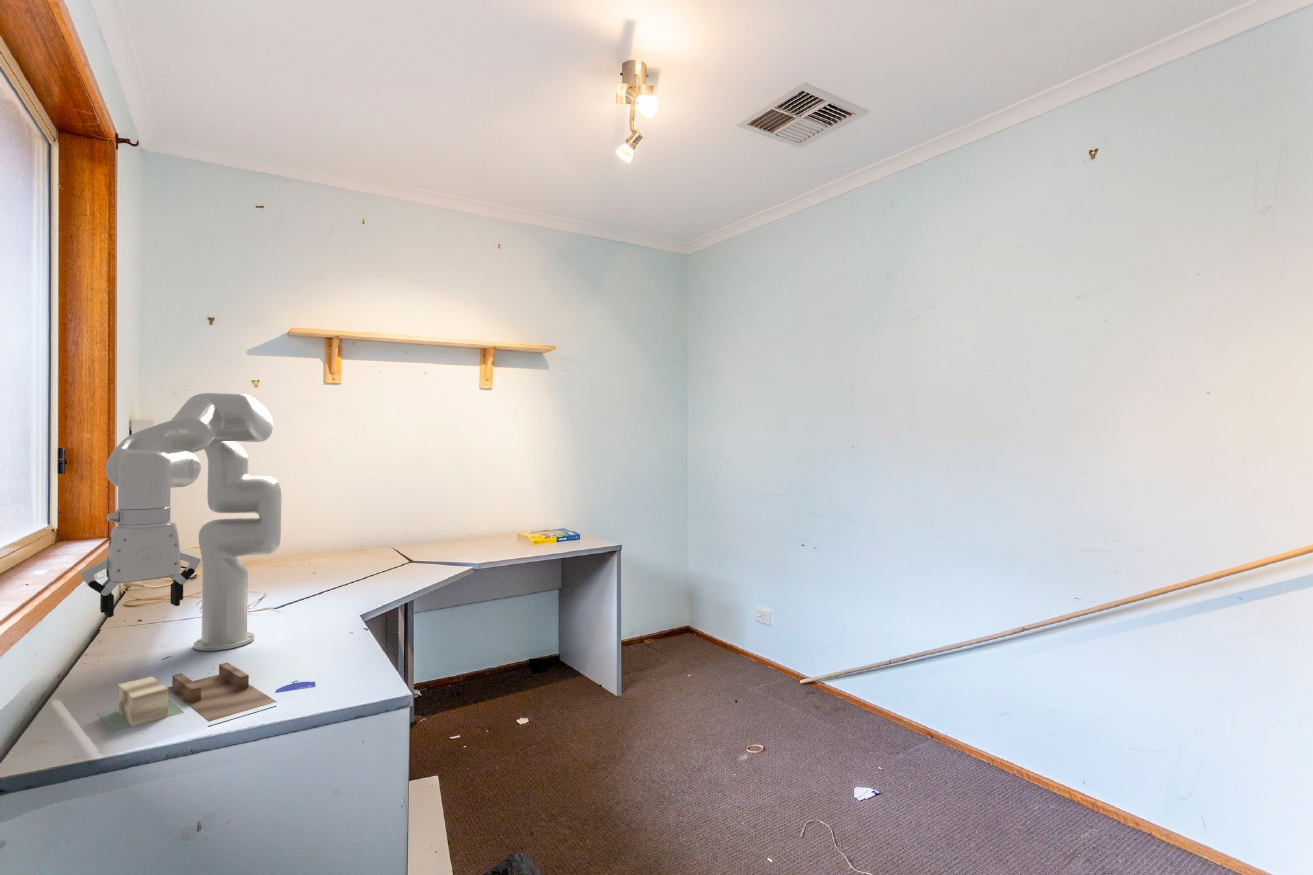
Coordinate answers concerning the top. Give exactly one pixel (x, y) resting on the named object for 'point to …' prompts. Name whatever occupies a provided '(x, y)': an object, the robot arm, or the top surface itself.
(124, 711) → the block
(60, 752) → the top surface
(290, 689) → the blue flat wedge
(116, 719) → the mat
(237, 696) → the holder
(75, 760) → the top surface
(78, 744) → the top surface
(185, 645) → the top surface
